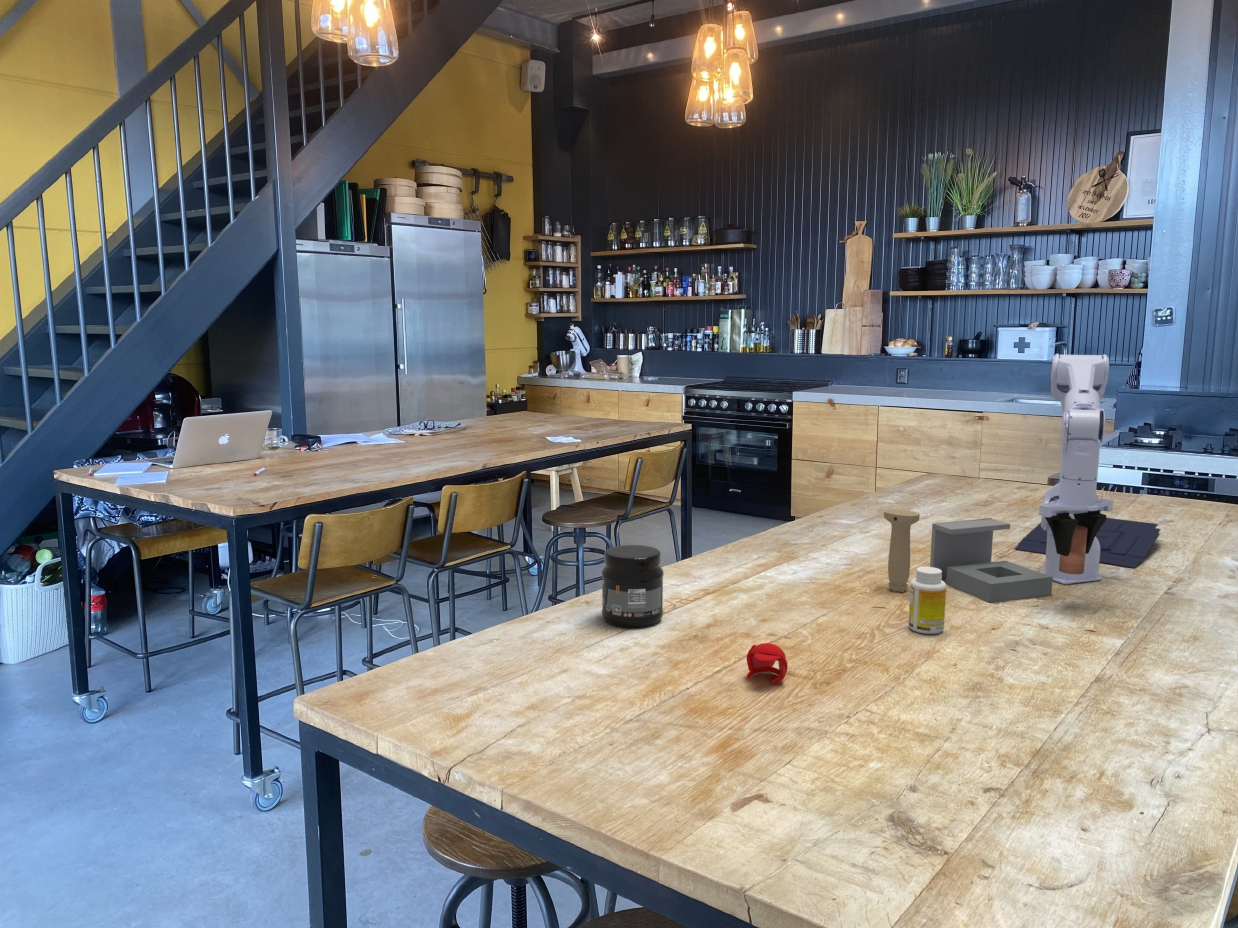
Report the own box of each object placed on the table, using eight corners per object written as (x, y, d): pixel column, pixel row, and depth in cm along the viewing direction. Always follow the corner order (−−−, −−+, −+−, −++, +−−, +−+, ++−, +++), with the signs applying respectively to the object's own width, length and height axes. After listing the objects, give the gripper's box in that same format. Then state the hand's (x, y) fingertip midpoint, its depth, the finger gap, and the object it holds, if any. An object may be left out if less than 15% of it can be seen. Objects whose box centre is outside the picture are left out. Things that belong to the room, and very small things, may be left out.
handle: (907, 596, 168) (911, 517, 166) (876, 589, 173) (879, 512, 170) (919, 590, 172) (923, 513, 169) (888, 584, 176) (891, 508, 174)
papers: (1166, 536, 209) (1167, 521, 208) (1135, 580, 187) (1136, 563, 186) (1053, 521, 224) (1054, 507, 223) (1012, 560, 203) (1013, 544, 202)
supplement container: (632, 605, 163) (632, 540, 161) (676, 619, 156) (676, 551, 154) (589, 619, 156) (588, 551, 154) (632, 634, 149) (632, 563, 147)
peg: (1071, 567, 164) (1074, 523, 163) (1089, 573, 161) (1092, 528, 159) (1053, 569, 163) (1057, 525, 162) (1071, 575, 159) (1075, 530, 158)
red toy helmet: (743, 669, 134) (744, 633, 133) (781, 670, 134) (782, 634, 133) (749, 690, 126) (750, 652, 126) (789, 690, 126) (790, 652, 125)
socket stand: (986, 571, 185) (990, 518, 183) (1051, 594, 169) (1055, 537, 167) (929, 577, 180) (932, 523, 179) (990, 602, 165) (994, 543, 163)
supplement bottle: (951, 632, 149) (954, 571, 148) (925, 637, 147) (929, 576, 145) (926, 622, 154) (929, 563, 153) (901, 626, 152) (904, 567, 150)
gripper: (1064, 484, 153) (1057, 562, 155) (1130, 479, 158) (1123, 555, 160) (1032, 477, 160) (1027, 552, 162) (1096, 472, 164) (1090, 545, 167)
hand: (1072, 553), depth 161 cm, fingers closed on peg, 4 cm apart
